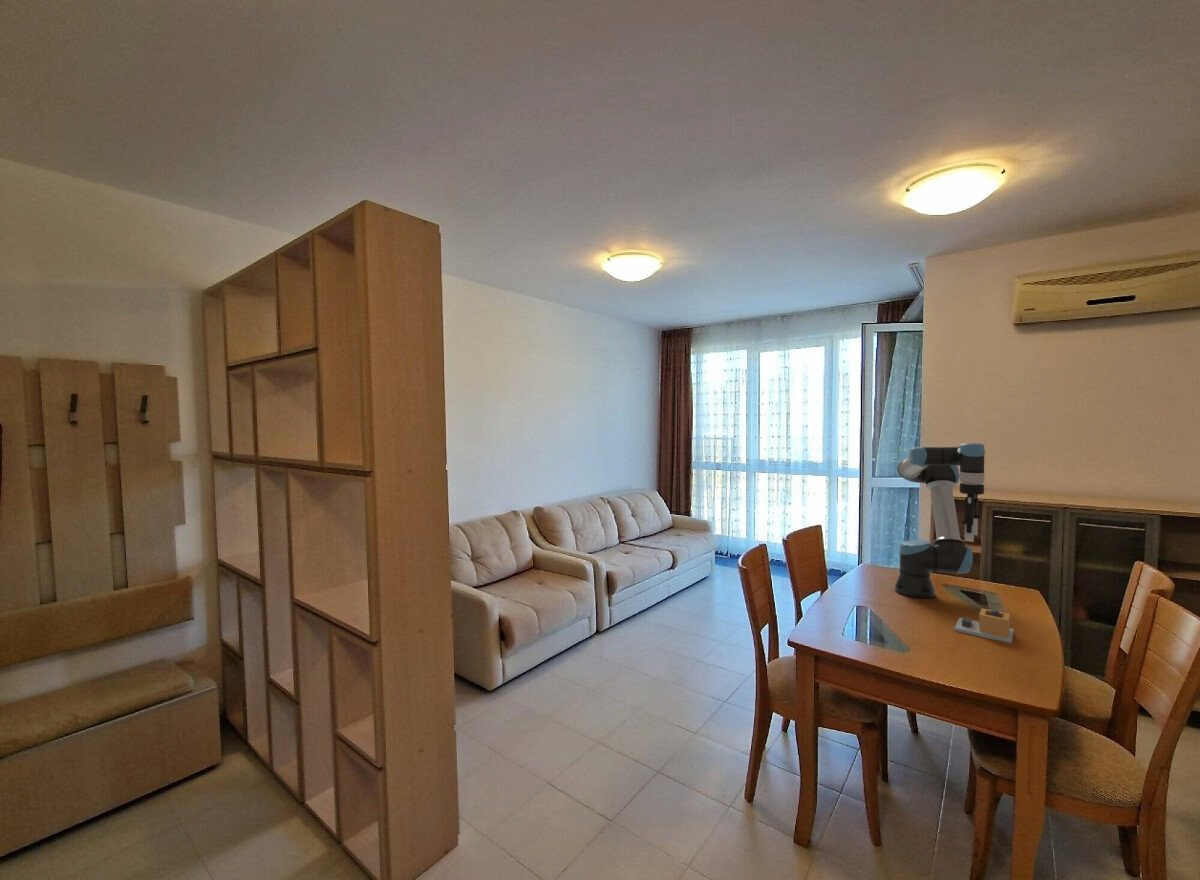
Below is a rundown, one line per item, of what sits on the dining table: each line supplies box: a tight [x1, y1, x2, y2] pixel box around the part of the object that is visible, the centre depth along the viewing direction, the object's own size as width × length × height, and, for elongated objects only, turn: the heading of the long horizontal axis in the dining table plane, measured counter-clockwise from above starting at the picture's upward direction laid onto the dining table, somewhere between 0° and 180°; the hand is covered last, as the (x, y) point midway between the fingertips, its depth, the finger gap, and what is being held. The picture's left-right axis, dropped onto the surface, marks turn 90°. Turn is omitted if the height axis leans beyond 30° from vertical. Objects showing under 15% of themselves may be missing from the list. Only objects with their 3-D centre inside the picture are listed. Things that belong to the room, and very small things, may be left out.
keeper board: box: [954, 609, 1014, 645], centre depth 178 cm, size 12×16×8 cm
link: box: [978, 607, 1011, 637], centre depth 176 cm, size 8×8×6 cm
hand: (971, 538), depth 188 cm, fingers open, 13 cm apart
